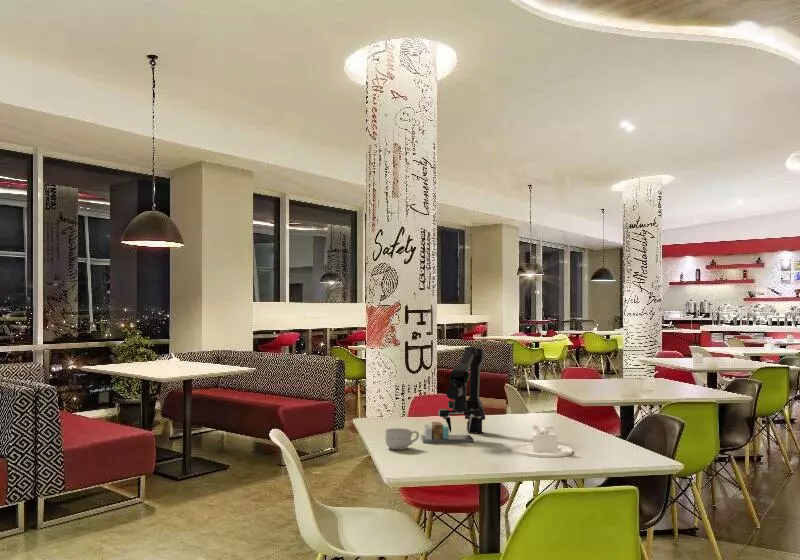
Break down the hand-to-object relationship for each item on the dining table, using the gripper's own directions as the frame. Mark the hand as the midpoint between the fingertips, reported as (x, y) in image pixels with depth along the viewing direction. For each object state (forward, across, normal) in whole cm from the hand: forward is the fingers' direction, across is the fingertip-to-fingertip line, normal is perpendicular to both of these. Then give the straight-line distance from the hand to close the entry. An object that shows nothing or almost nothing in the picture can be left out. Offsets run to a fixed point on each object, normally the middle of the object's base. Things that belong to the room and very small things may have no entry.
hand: (460, 432), depth 285 cm
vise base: (+4, +6, 0) cm, 7 cm away
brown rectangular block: (+2, +10, 0) cm, 10 cm away
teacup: (+4, +27, +17) cm, 32 cm away
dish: (+4, -30, +22) cm, 38 cm away
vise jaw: (+2, +7, 0) cm, 7 cm away
